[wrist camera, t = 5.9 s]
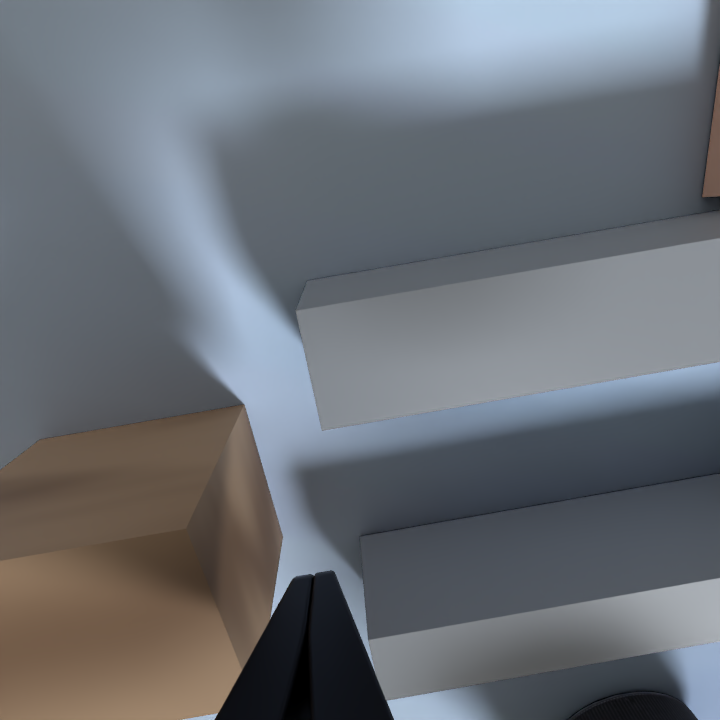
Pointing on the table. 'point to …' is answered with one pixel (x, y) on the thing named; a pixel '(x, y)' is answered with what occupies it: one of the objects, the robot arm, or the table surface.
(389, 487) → the table surface
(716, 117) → the terracotta tile
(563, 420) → the table surface
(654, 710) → the camera lens
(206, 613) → the walnut block
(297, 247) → the table surface
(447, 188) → the table surface
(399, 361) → the pocket board
